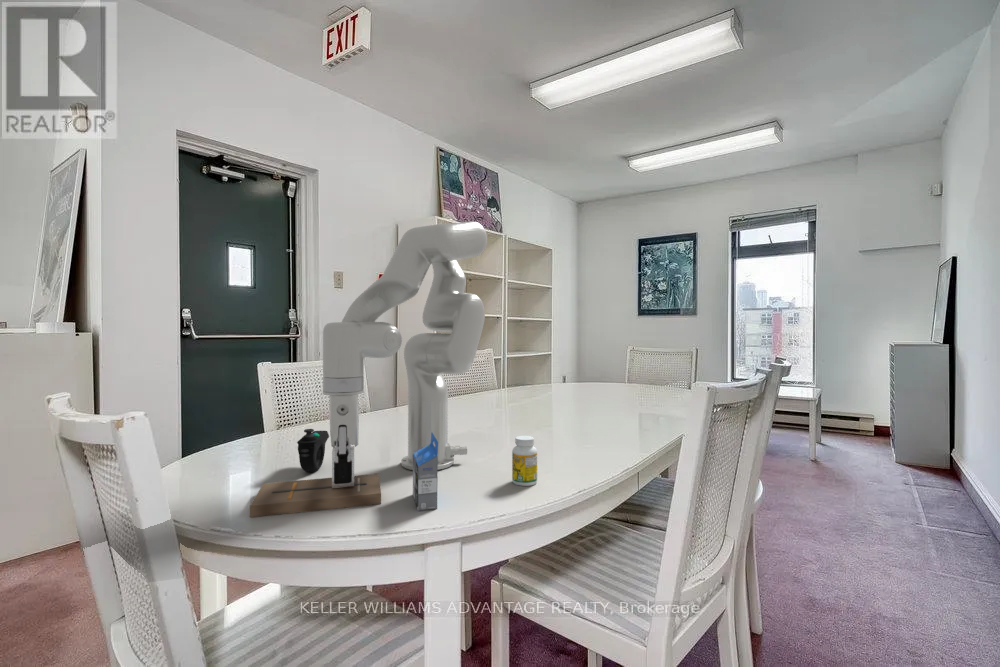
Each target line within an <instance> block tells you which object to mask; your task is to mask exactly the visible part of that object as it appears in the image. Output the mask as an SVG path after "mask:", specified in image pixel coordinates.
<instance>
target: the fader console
mask: <svg viewBox="0 0 1000 667" xmlns="http://www.w3.org/2000/svg"><path fill="white" fill-rule="evenodd" d="M381 489H382V488H381V482H380V474H379V473H373V474H372V473H370V474H360V475H354V486H350V487H339V488H332V477H323V478H313V479H312V478H311V479H310V478H309V479H299V480H290V481H288V480H287V481H277V482H276V481H275V482H266V483H265V482H264V483H263V484H262V486H261V487H260V489H259V490H258V492H257V493H256V495H255V496H254V499H253V500H252V502H251V503H250V505H249V518H256V517H267V516H276V515H286V514H287V515H288V514H297V513H305V512H315V511H324V510H337V509H343V508H344V507H346V508H354V507H364V506H373V505H372V504H375V505H381V504H382V490H381ZM344 509H345V508H344Z"/></svg>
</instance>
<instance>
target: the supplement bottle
mask: <svg viewBox="0 0 1000 667" xmlns="http://www.w3.org/2000/svg"><path fill="white" fill-rule="evenodd" d="M514 442H515V446H514V447H513V448H512V450H511V452H512V453H511V454H512V455H511V456H512V457H511V458H512V459H511V460H512V461H511V462H512V463H511V464H512V467H511V468H512V469H511V471H512V472H511V474H512V475H511V478H512V479H511V481H512V484H514V485H516V486H519V487H520V486H521V487H531V486H535V485H536V484H537V482H538V448H536V447H535V446H534V445H535V438H534V437H533V436H531V435H518V436H515V440H514Z"/></svg>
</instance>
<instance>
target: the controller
mask: <svg viewBox="0 0 1000 667" xmlns="http://www.w3.org/2000/svg"><path fill="white" fill-rule="evenodd" d="M303 432H304V433H306V434H304V435H303V436H302V437H301V438H300V439H298V440H297V442H296V443H297V451H298V452H297V453H298V459H299V465H300V467H301V470H302V471H305V472H317V471H318V470H320V468H322V465H323V463H324V458H325V452H326V444H327V440H328V439H329V437H330V434H329V432H328V430H315V429H314V428H306V429H304V430H303Z"/></svg>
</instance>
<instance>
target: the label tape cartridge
mask: <svg viewBox="0 0 1000 667" xmlns="http://www.w3.org/2000/svg"><path fill="white" fill-rule="evenodd" d="M433 442H434V443H435V446H434V445H433ZM437 466H438V441H437V439H436V437H435V436H434V434H433V433H432V432H431V443H430V444H429V445H428V446H426V447H424V448H422V449H420V450H418V451H416V452H414V453H413V470H412V495H413V500H414V503H415V506H416V509H417V512H423V511H433V510H438V478H439V477H438V470H437Z"/></svg>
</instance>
